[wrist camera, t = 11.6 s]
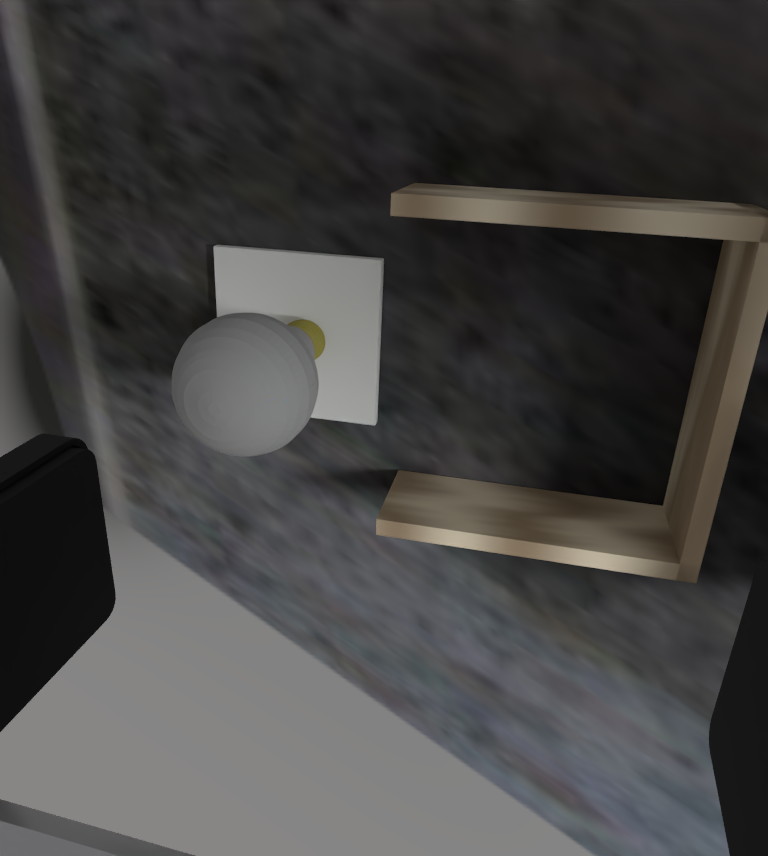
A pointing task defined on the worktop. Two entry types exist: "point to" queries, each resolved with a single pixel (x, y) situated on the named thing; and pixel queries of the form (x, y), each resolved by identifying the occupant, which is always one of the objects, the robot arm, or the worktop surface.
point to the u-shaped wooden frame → (702, 422)
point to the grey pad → (316, 315)
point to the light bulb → (247, 382)
